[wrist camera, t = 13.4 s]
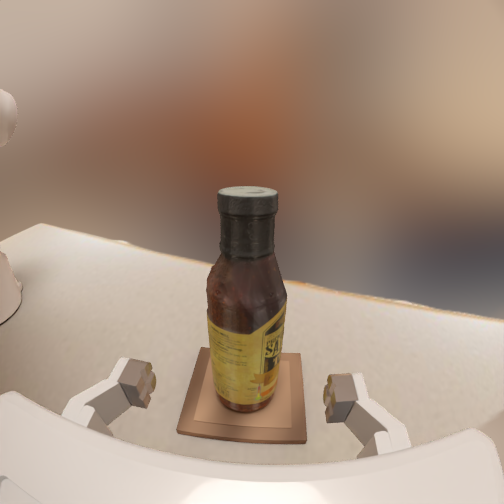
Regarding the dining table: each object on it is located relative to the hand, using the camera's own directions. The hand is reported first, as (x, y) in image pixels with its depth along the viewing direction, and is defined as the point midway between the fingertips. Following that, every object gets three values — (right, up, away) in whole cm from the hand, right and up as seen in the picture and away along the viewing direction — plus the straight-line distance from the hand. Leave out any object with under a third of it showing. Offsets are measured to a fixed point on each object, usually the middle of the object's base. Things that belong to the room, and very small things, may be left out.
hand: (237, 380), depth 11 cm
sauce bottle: (0, -9, +14) cm, 17 cm away
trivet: (0, -9, +15) cm, 17 cm away
